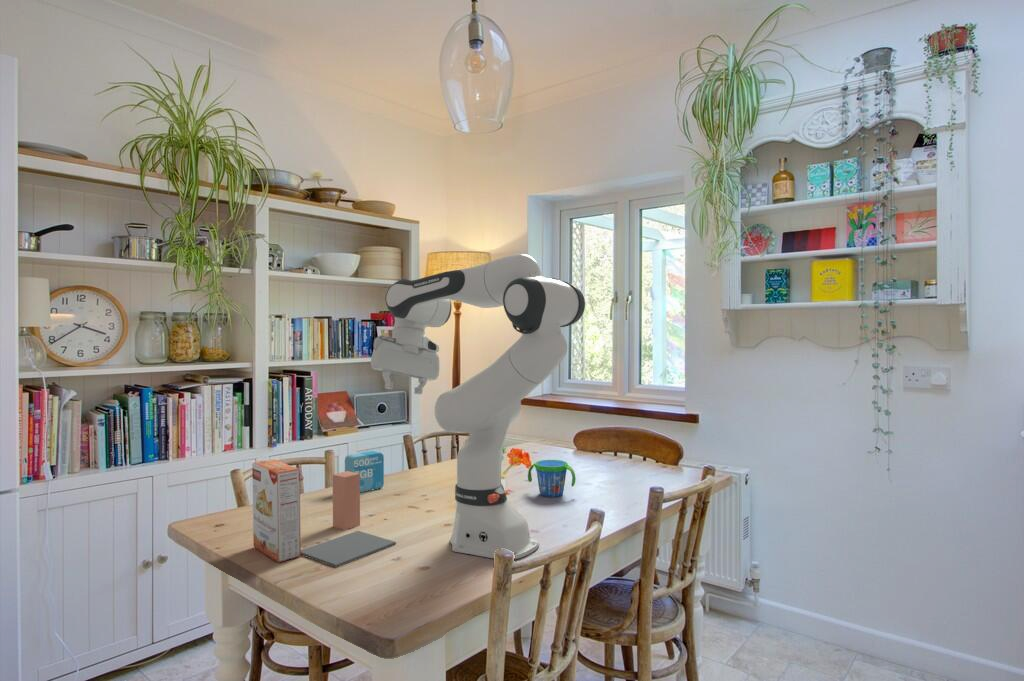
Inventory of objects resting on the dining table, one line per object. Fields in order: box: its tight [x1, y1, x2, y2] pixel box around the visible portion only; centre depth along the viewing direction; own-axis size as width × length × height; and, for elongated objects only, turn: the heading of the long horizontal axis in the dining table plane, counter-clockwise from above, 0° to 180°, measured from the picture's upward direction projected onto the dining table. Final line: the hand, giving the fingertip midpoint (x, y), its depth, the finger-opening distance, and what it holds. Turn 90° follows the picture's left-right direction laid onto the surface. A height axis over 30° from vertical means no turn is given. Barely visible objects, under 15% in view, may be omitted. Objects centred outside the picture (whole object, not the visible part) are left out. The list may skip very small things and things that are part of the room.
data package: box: [344, 450, 385, 493], centre depth 201 cm, size 12×4×12 cm, turn 134°
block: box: [332, 471, 361, 531], centre depth 165 cm, size 5×5×14 cm
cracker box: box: [251, 459, 302, 563], centre depth 146 cm, size 14×6×21 cm, turn 45°
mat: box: [301, 530, 397, 568], centre depth 148 cm, size 14×18×1 cm
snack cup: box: [527, 459, 577, 498], centre depth 197 cm, size 16×10×10 cm
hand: (403, 391), depth 166 cm, fingers open, 8 cm apart
